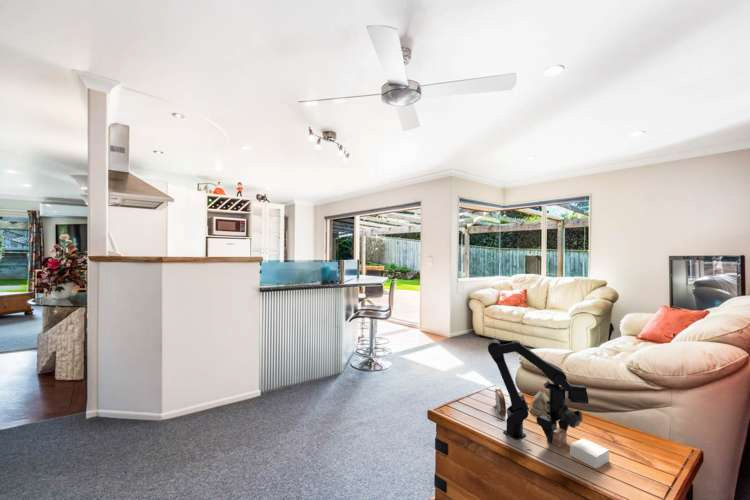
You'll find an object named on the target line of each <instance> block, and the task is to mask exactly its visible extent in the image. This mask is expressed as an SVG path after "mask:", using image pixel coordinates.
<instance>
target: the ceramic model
mask: <svg viewBox="0 0 750 500" xmlns="http://www.w3.org/2000/svg"><path fill="white" fill-rule="evenodd" d="M532 399H533V400H532V402H531V403H530V404H529V411H530V413H532V414H533V415H536V416H538V417H539V416H542V415H545V416H548V417H550V415H548V414H547V411H549V404H547V401H548V400H549V395H548V394H546V393H545V391H544V389H540V390H539V391H538V392H537V393H536V394H535V395H533V398H532Z"/></svg>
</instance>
